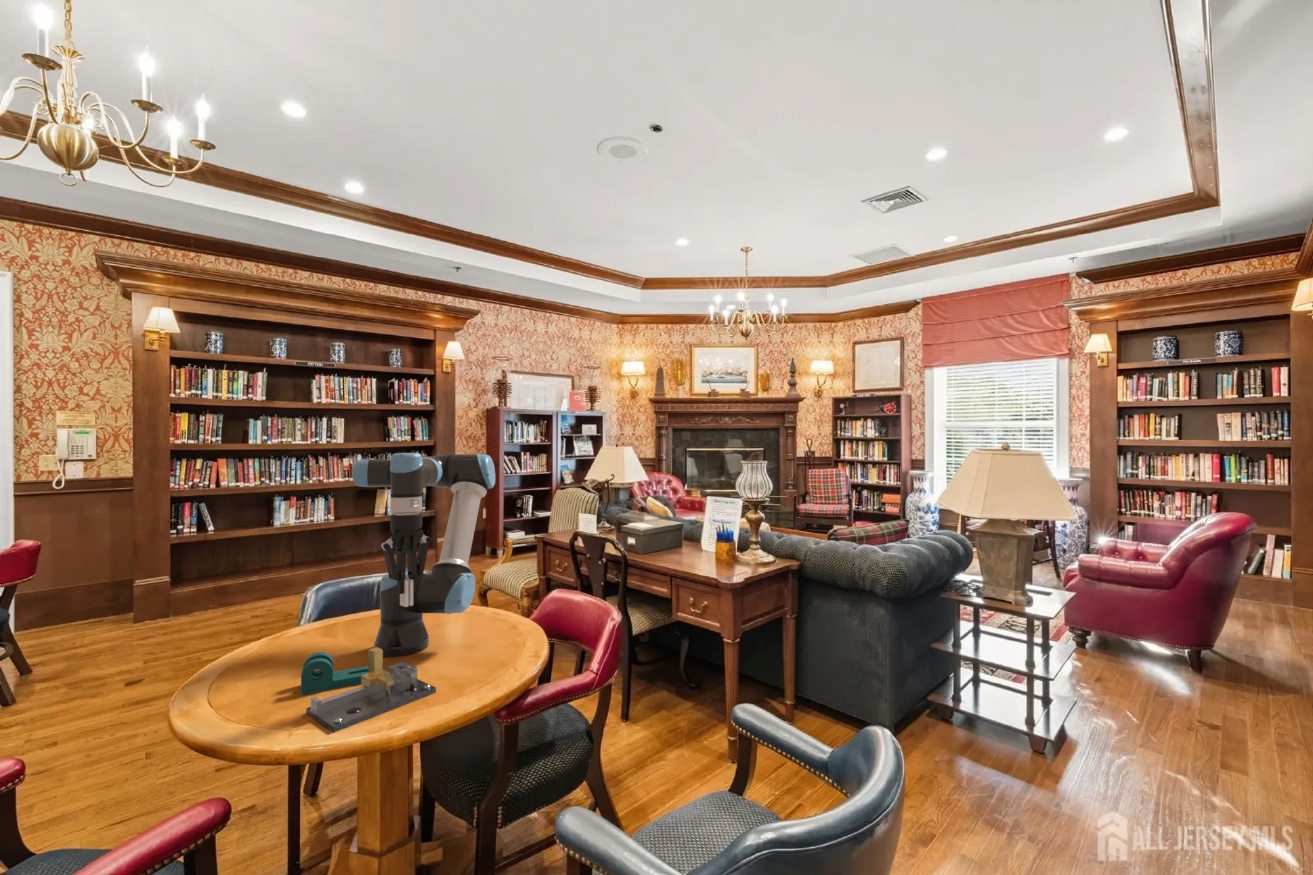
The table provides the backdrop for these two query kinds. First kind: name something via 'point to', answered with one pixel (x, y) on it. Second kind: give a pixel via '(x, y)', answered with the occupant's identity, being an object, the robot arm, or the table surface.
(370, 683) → the sliding leg
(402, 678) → the grey long bar piece
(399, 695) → the bolt plate
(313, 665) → the bracket
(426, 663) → the table surface
